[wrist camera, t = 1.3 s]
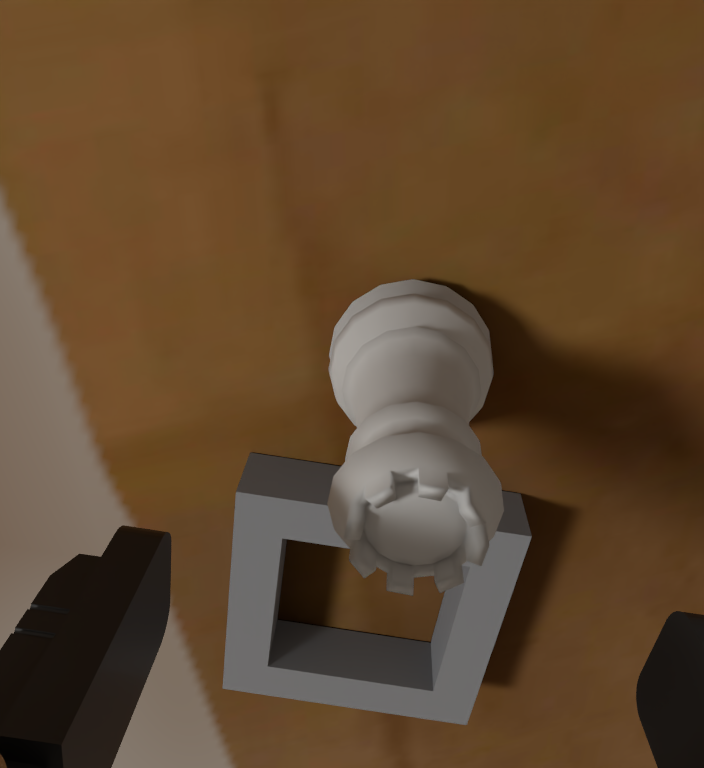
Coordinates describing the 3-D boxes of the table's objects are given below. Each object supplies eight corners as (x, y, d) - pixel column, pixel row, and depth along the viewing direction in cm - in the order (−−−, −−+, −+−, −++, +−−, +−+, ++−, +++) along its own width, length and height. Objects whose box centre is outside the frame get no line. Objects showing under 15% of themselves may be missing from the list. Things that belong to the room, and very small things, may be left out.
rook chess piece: (446, 439, 20) (472, 662, 13) (308, 385, 19) (254, 586, 12) (520, 311, 18) (599, 492, 11) (368, 247, 17) (346, 391, 10)
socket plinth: (250, 452, 20) (235, 491, 19) (520, 493, 20) (531, 536, 19) (235, 641, 24) (222, 688, 23) (461, 675, 24) (466, 724, 23)
